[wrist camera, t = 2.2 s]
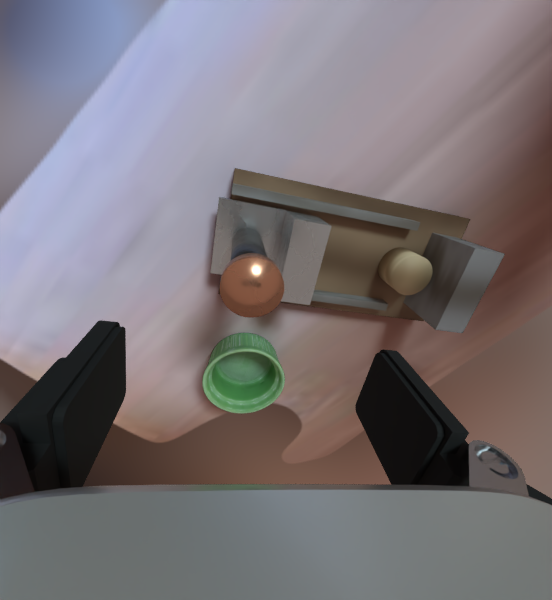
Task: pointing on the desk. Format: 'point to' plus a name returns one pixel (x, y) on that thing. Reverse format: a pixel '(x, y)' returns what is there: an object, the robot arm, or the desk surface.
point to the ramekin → (243, 374)
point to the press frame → (382, 251)
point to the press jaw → (266, 256)
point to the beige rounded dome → (405, 271)
